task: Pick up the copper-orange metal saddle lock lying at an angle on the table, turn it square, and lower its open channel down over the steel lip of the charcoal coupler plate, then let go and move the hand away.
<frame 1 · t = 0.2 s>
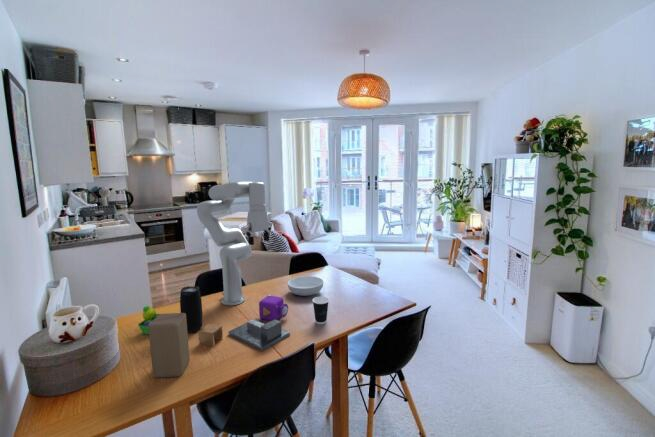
hand: (259, 242, 161), 36 cm above the table, tool pointing down, fingers open, 9 cm apart
saddle lock: (211, 341, 140), on the table
toy camera: (274, 317, 162), on the table
coupler plate: (259, 334, 145), on the table
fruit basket: (154, 330, 150), on the table
serving bowl: (305, 293, 193), on the table
portable speaker: (193, 329, 151), on the table
wooden block: (172, 370, 121), on the table
dixie cup: (320, 322, 157), on the table
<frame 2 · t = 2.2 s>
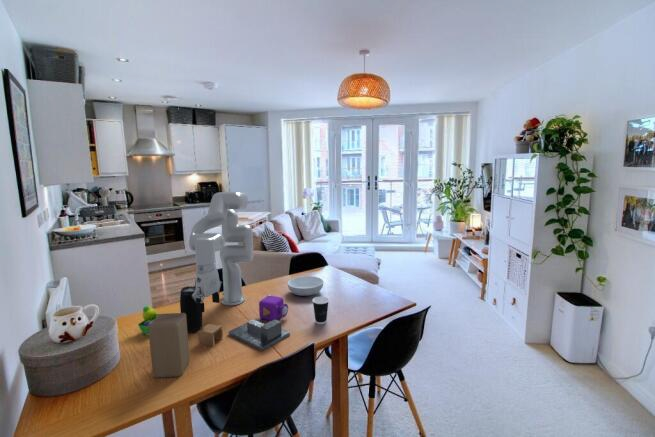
hand: (208, 306, 137), 16 cm above the table, tool pointing down, fingers open, 9 cm apart
nothing on the table moved.
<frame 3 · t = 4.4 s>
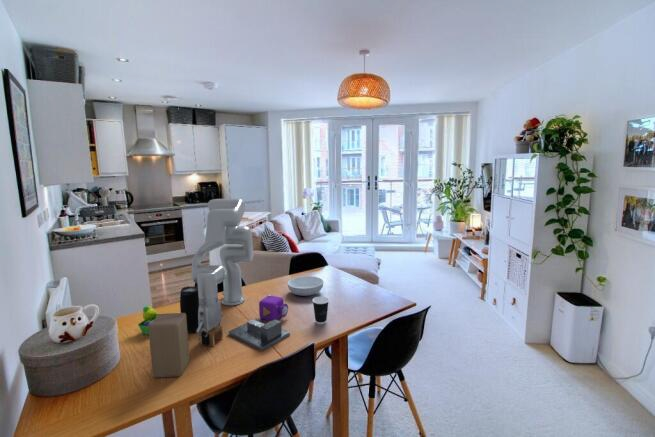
hand: (211, 339, 140), 1 cm above the table, tool pointing down, fingers closed on saddle lock, 6 cm apart
saddle lock: (211, 341, 140), on the table, touching gripper
everything else where it was.
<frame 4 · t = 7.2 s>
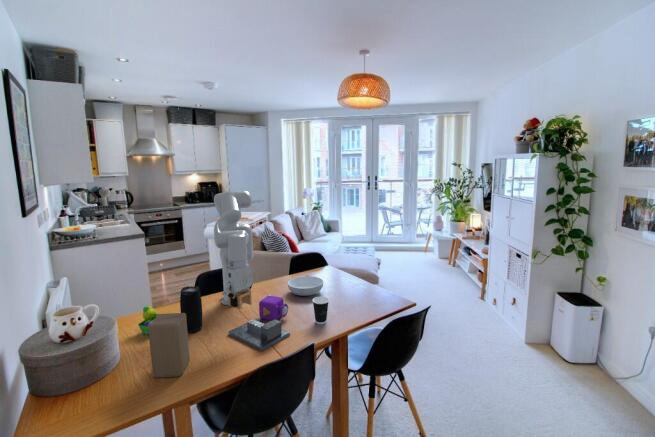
hand: (240, 303, 141), 16 cm above the table, tool pointing down, fingers closed on saddle lock, 6 cm apart
saddle lock: (240, 304, 141), point 15 cm above the table, touching gripper
everything else where it was.
when the fingers open (4 cm above the table, at t = 9.9 s): saddle lock drops 1 cm, resting on coupler plate.
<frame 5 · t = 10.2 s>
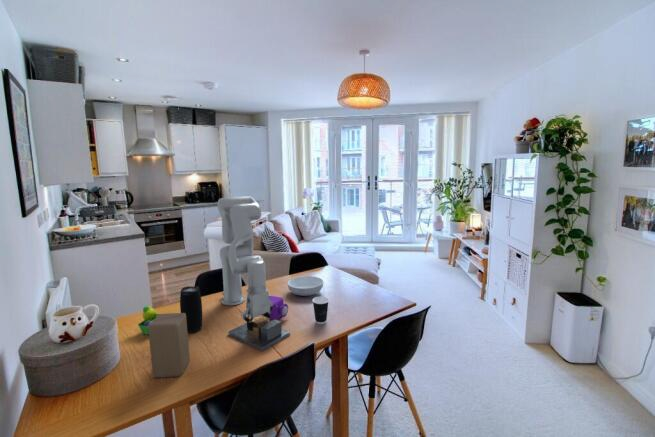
hand: (258, 325, 145), 4 cm above the table, tool pointing down, fingers open, 9 cm apart
saddle lock: (258, 331, 145), point 1 cm above the table, touching coupler plate
everything else where it was.
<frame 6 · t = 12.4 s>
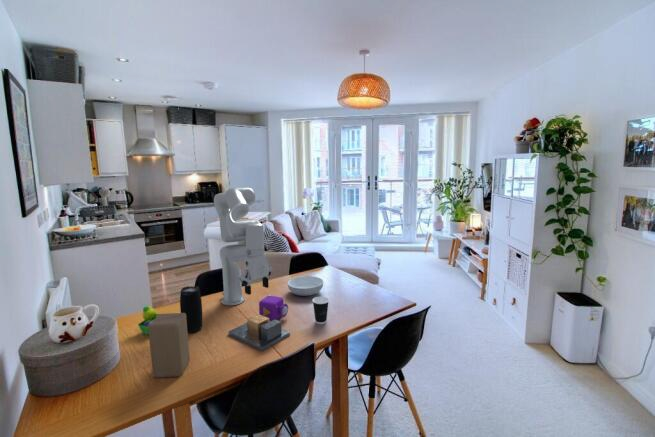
hand: (257, 290, 142), 20 cm above the table, tool pointing down, fingers open, 9 cm apart
nothing on the table moved.
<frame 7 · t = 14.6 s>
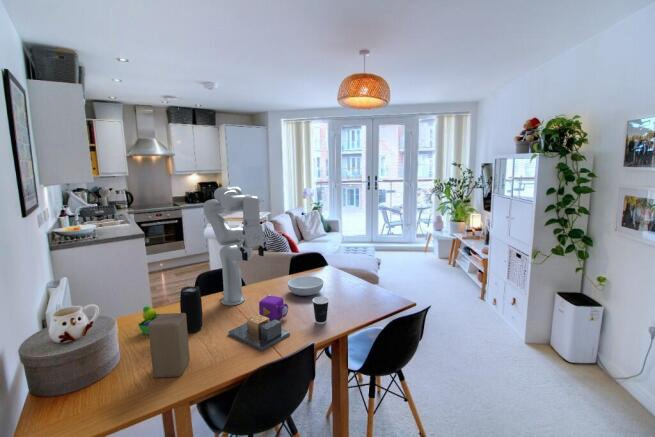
hand: (253, 258, 157), 30 cm above the table, tool pointing down, fingers open, 9 cm apart
nothing on the table moved.
at the end: saddle lock 0.0 cm off-centre on the coupler plate, point 1.5 cm above the coupler plate's base; saddle lock tilted 0°; the gripper is holding nothing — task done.
